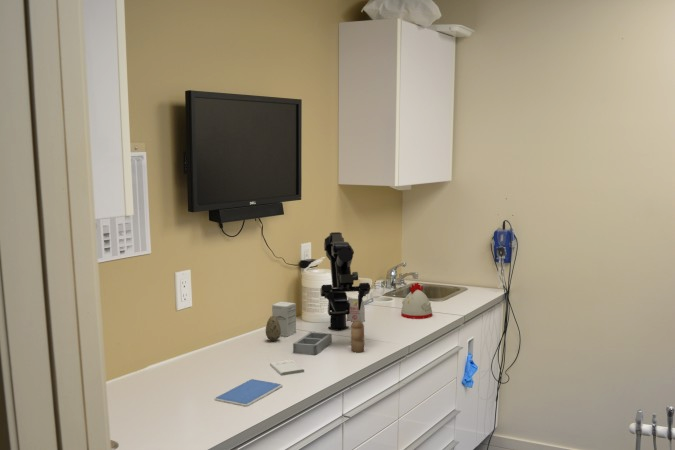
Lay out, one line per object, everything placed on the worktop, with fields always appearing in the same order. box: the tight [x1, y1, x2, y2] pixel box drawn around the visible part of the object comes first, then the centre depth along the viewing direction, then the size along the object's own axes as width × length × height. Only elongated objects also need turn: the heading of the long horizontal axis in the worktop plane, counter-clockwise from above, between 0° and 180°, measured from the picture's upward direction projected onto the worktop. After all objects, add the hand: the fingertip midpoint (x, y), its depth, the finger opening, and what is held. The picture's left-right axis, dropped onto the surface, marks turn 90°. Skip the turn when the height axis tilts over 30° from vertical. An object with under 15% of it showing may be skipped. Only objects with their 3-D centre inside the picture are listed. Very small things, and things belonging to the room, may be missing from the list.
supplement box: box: [271, 301, 297, 337], centre depth 269 cm, size 7×7×13 cm
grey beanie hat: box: [400, 282, 433, 320], centre depth 296 cm, size 14×14×15 cm
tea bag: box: [346, 297, 366, 323], centre depth 288 cm, size 4×7×10 cm, turn 64°
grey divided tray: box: [292, 331, 333, 356], centre depth 249 cm, size 17×9×4 cm, turn 161°
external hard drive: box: [269, 359, 305, 376], centre depth 225 cm, size 2×8×12 cm
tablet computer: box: [213, 378, 283, 408], centre depth 201 cm, size 19×13×1 cm, turn 151°
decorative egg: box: [265, 315, 281, 342], centre depth 259 cm, size 6×6×10 cm
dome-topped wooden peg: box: [350, 321, 365, 354], centre depth 243 cm, size 5×5×11 cm
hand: (347, 310), depth 248 cm, fingers open, 9 cm apart
